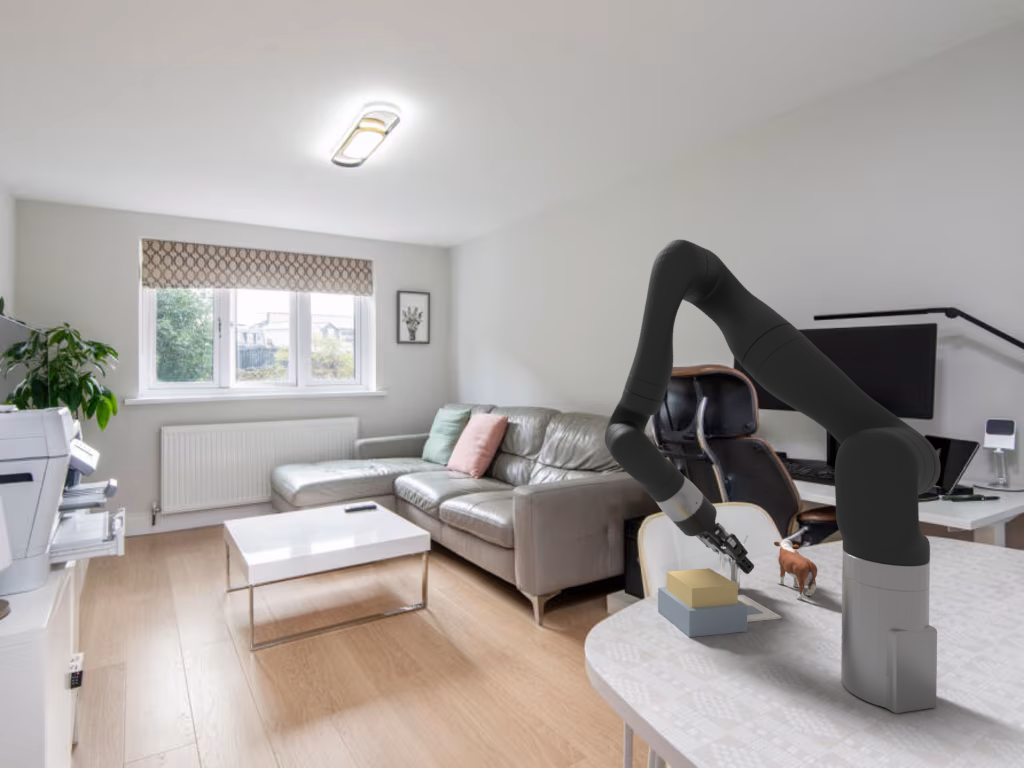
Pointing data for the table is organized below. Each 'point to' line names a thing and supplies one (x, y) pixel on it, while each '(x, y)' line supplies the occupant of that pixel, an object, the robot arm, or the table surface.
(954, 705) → the table surface
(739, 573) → the milkshake
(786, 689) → the table surface
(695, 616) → the tower base
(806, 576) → the bull figurine
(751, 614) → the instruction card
